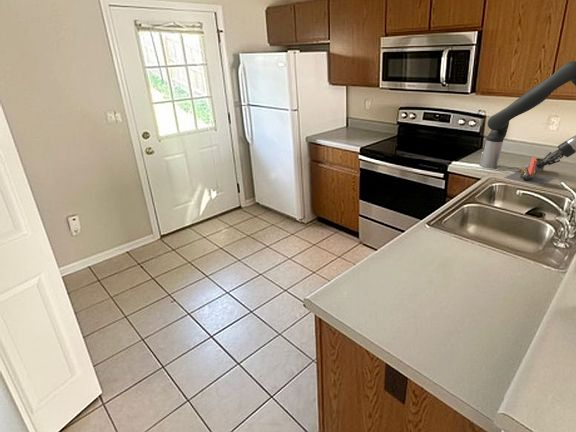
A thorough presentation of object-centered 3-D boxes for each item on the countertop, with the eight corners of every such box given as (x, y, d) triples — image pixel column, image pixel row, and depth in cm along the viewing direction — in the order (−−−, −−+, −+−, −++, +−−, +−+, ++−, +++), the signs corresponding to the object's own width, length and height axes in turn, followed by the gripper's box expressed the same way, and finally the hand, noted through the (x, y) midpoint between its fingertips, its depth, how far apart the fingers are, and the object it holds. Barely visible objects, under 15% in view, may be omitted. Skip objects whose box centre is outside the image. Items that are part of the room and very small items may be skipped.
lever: (524, 167, 211) (527, 153, 208) (532, 168, 209) (536, 154, 206) (527, 174, 198) (531, 160, 194) (536, 175, 196) (540, 161, 193)
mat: (503, 179, 211) (503, 177, 210) (518, 172, 223) (519, 171, 222) (540, 187, 197) (540, 186, 197) (554, 179, 209) (555, 178, 209)
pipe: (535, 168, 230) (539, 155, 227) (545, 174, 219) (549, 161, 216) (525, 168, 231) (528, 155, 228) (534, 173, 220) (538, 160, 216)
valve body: (519, 180, 206) (521, 171, 204) (520, 173, 218) (522, 165, 216) (532, 182, 203) (535, 173, 201) (532, 174, 215) (535, 166, 213)
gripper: (562, 138, 193) (530, 159, 202) (571, 143, 181) (536, 165, 190) (571, 148, 193) (538, 169, 202) (580, 154, 182) (545, 176, 191)
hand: (537, 167), depth 196 cm, fingers closed
